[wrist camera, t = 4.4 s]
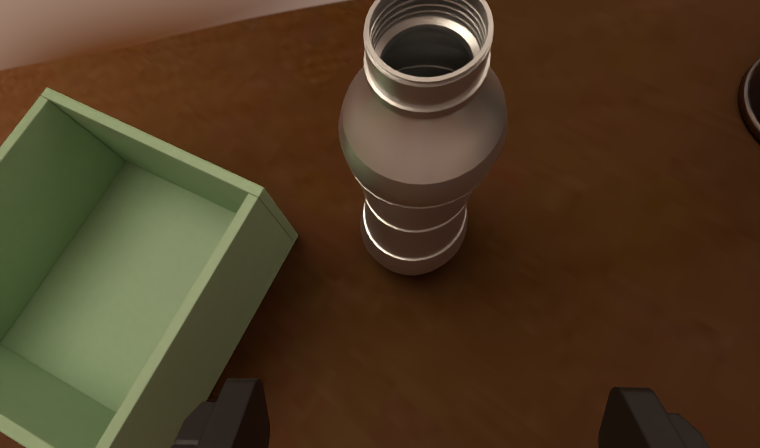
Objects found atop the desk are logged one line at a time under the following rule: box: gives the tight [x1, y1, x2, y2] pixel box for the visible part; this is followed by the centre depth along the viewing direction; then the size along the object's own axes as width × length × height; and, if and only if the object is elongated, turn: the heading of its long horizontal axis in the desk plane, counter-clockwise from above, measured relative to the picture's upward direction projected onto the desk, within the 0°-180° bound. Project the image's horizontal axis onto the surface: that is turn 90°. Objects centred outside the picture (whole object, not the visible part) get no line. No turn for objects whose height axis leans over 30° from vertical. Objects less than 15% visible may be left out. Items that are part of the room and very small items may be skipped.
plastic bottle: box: [338, 0, 508, 275], centre depth 23 cm, size 6×7×20 cm
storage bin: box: [0, 88, 298, 448], centre depth 28 cm, size 15×14×9 cm
